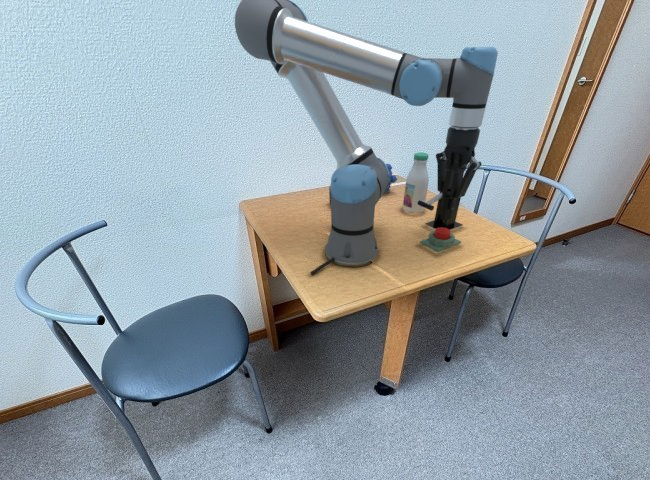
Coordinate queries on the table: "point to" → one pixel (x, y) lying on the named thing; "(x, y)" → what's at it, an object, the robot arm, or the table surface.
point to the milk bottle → (416, 184)
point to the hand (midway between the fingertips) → (445, 218)
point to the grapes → (390, 177)
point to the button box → (440, 242)
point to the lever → (430, 202)
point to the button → (442, 233)
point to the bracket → (447, 223)
